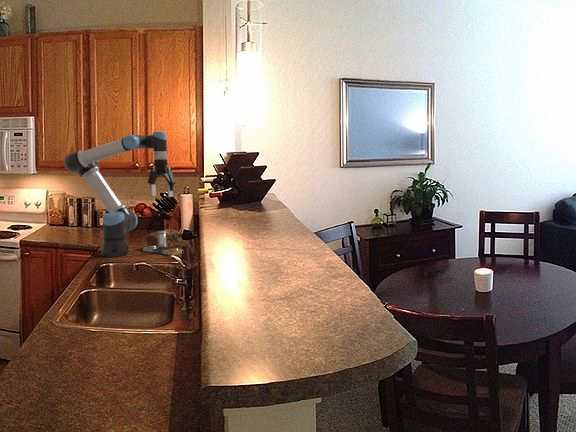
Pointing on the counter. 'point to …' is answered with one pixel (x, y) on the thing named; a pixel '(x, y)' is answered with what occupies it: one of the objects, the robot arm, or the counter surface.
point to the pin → (162, 240)
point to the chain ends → (167, 251)
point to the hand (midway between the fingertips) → (162, 196)
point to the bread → (171, 238)
